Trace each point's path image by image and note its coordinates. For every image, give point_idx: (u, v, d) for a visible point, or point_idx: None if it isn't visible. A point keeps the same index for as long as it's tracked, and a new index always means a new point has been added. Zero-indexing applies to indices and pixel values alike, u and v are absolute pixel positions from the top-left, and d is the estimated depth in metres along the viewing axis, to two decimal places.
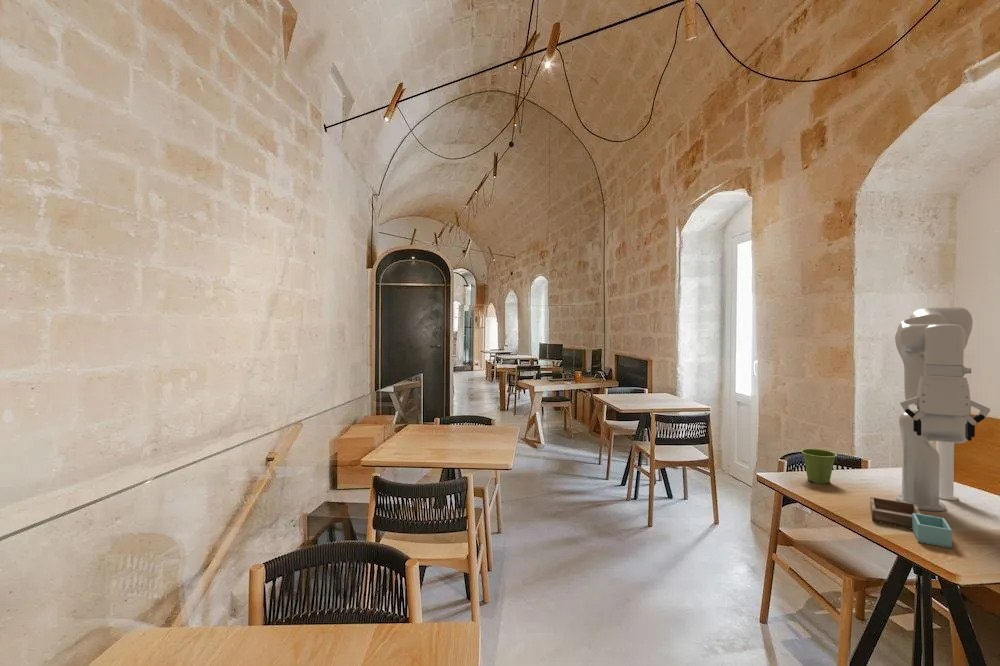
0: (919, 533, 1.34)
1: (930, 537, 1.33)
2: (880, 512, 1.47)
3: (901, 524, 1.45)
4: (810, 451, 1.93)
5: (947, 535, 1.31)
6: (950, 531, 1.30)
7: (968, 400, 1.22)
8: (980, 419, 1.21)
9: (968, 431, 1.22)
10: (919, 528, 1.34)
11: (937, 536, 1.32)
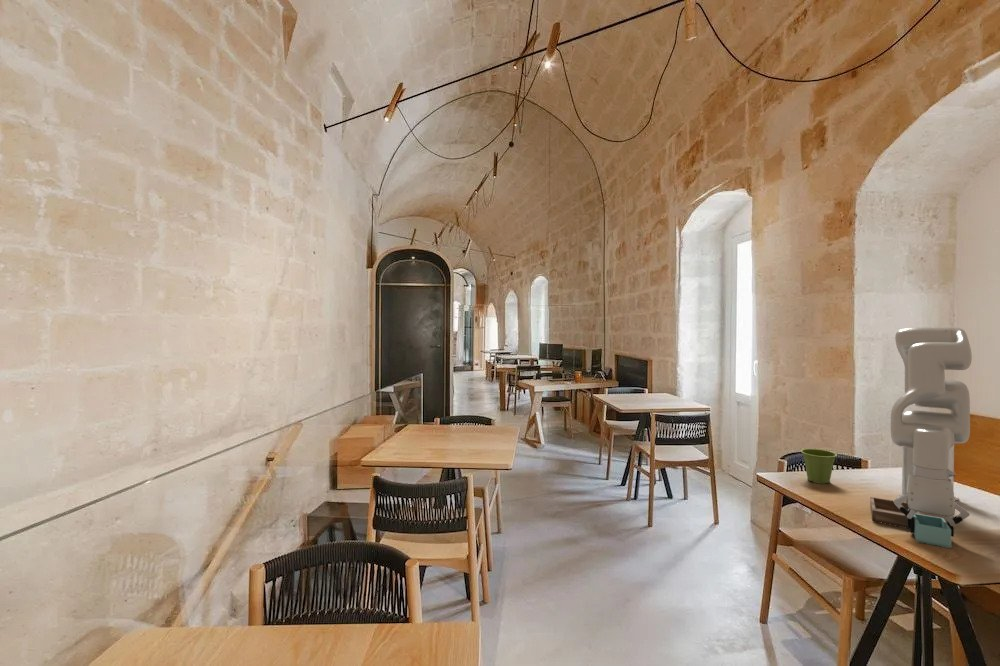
0: (918, 533, 1.34)
1: (929, 537, 1.33)
2: (880, 512, 1.47)
3: (901, 524, 1.45)
4: (810, 451, 1.93)
5: (946, 535, 1.31)
6: (949, 531, 1.30)
7: (952, 502, 1.33)
8: (958, 521, 1.33)
9: None
10: (918, 528, 1.34)
11: (937, 535, 1.32)
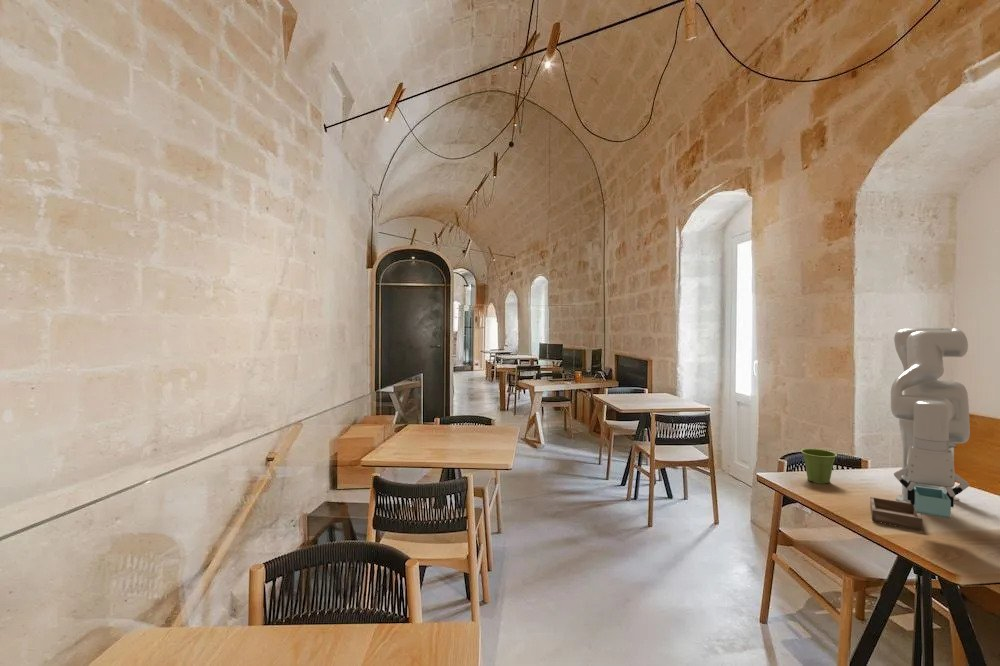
0: (918, 504, 1.35)
1: (929, 508, 1.33)
2: (880, 512, 1.47)
3: (901, 524, 1.45)
4: (810, 451, 1.93)
5: (946, 505, 1.31)
6: (949, 501, 1.31)
7: (952, 473, 1.33)
8: (958, 491, 1.34)
9: None
10: (918, 499, 1.35)
11: (936, 506, 1.32)
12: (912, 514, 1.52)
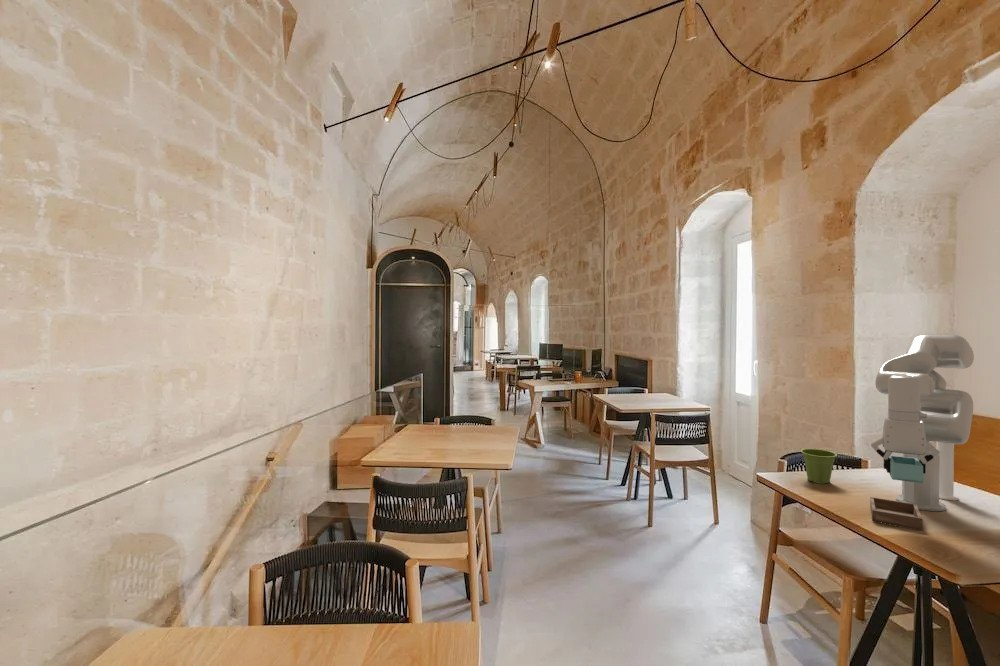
0: (893, 471, 1.44)
1: (903, 474, 1.43)
2: (880, 512, 1.47)
3: (901, 524, 1.45)
4: (810, 451, 1.93)
5: (919, 471, 1.41)
6: (921, 467, 1.41)
7: (924, 441, 1.43)
8: (930, 459, 1.44)
9: None
10: (893, 466, 1.44)
11: (910, 472, 1.42)
12: (912, 514, 1.52)
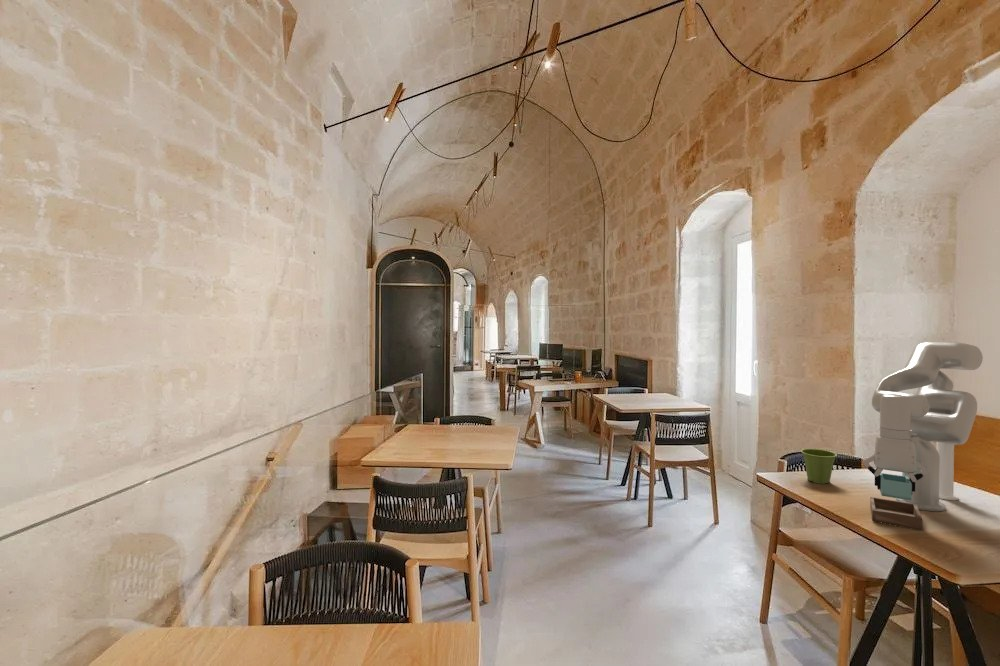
0: (883, 487, 1.48)
1: (893, 491, 1.46)
2: (880, 512, 1.47)
3: (901, 524, 1.45)
4: (810, 451, 1.93)
5: (907, 488, 1.44)
6: (910, 484, 1.44)
7: (914, 459, 1.47)
8: (919, 477, 1.47)
9: None
10: (883, 483, 1.48)
11: (899, 489, 1.45)
12: (912, 514, 1.52)
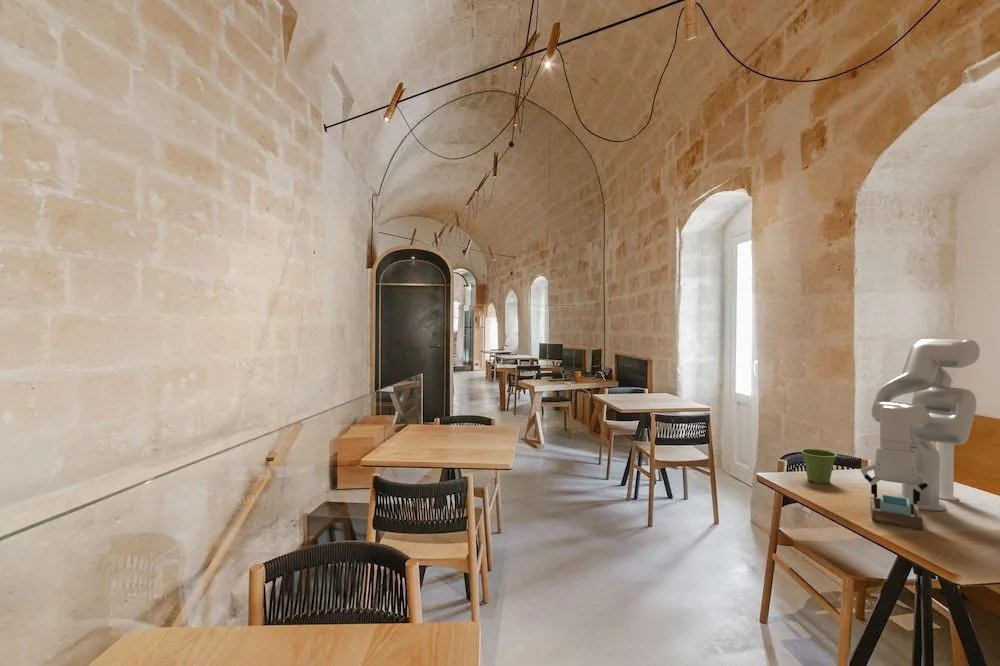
0: None
1: None
2: (880, 512, 1.47)
3: (901, 524, 1.45)
4: (810, 451, 1.93)
5: (906, 512, 1.45)
6: (909, 509, 1.44)
7: (914, 471, 1.47)
8: (924, 487, 1.46)
9: (914, 496, 1.47)
10: (882, 506, 1.48)
11: (898, 513, 1.46)
12: (912, 514, 1.52)
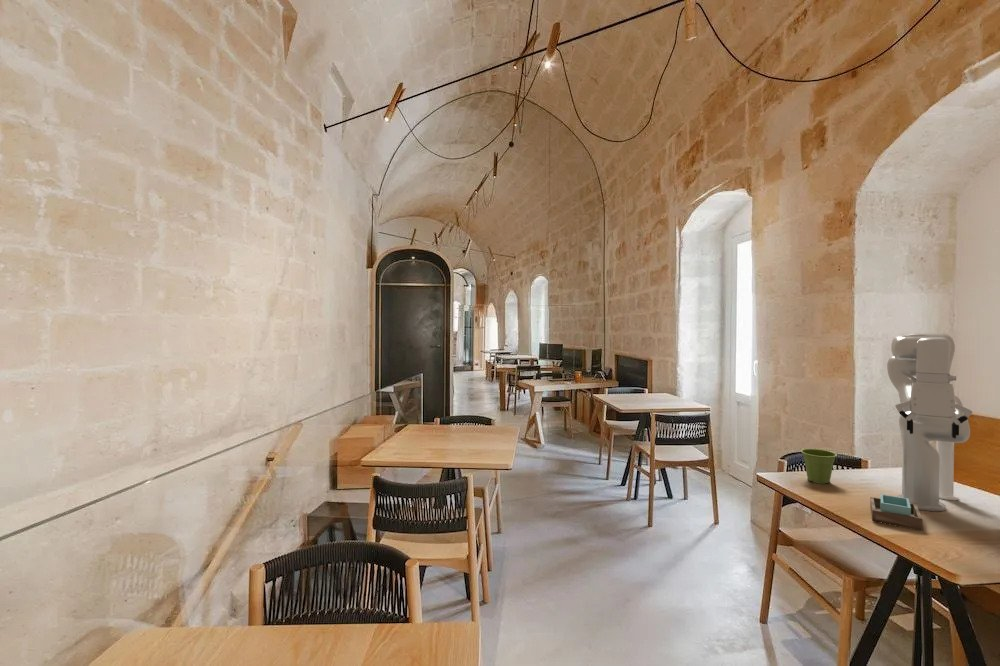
0: None
1: None
2: (880, 512, 1.47)
3: (901, 524, 1.45)
4: (810, 451, 1.93)
5: (906, 512, 1.45)
6: (909, 509, 1.44)
7: (953, 403, 1.41)
8: (963, 420, 1.41)
9: (953, 430, 1.42)
10: (882, 506, 1.48)
11: (898, 513, 1.46)
12: (912, 514, 1.52)
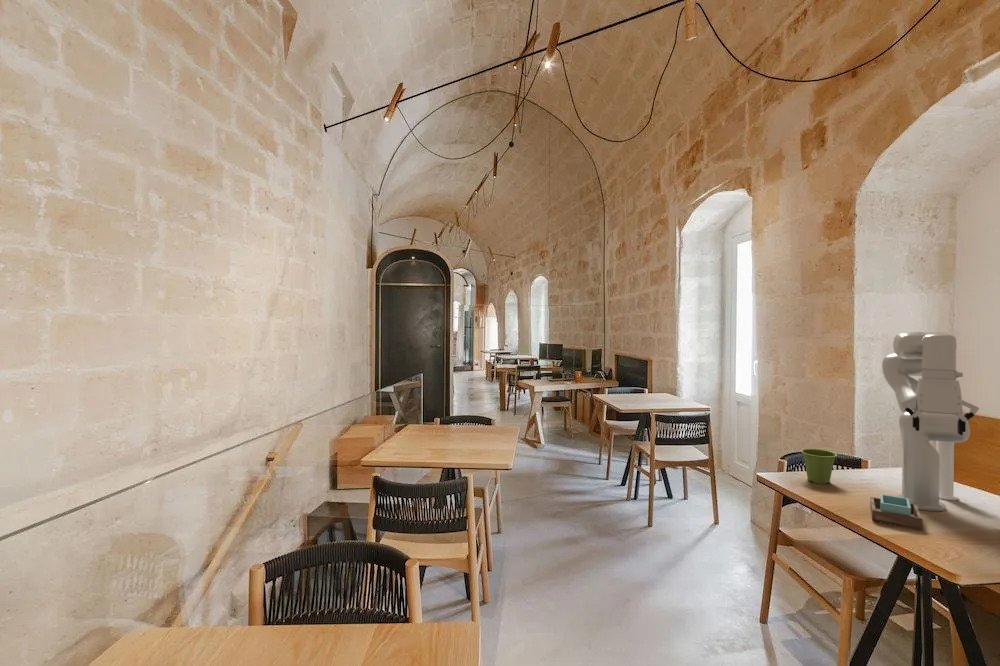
0: None
1: None
2: (880, 512, 1.47)
3: (901, 524, 1.45)
4: (810, 451, 1.93)
5: (906, 512, 1.45)
6: (909, 509, 1.44)
7: (960, 400, 1.41)
8: (970, 416, 1.40)
9: (960, 427, 1.41)
10: (882, 506, 1.48)
11: (898, 513, 1.46)
12: (912, 514, 1.52)
